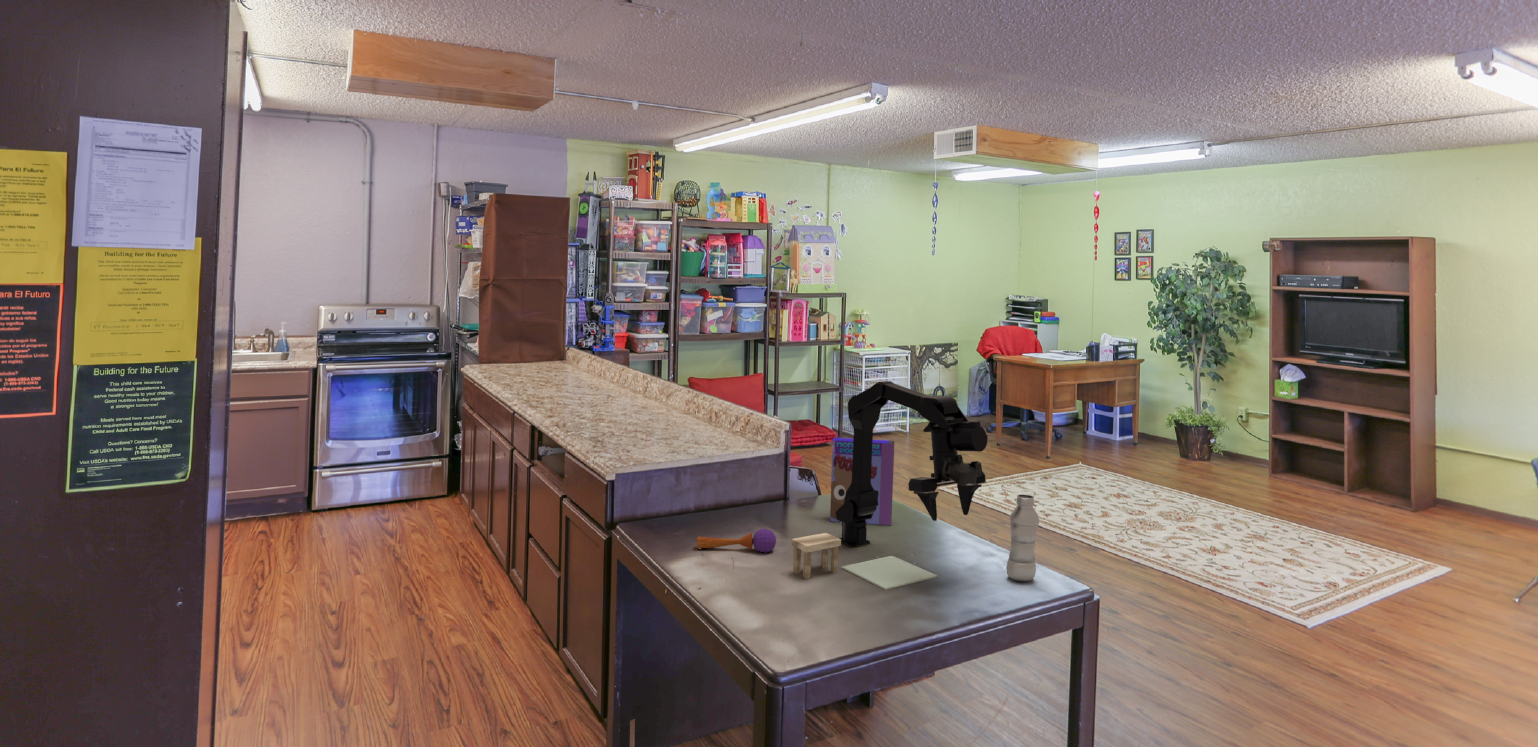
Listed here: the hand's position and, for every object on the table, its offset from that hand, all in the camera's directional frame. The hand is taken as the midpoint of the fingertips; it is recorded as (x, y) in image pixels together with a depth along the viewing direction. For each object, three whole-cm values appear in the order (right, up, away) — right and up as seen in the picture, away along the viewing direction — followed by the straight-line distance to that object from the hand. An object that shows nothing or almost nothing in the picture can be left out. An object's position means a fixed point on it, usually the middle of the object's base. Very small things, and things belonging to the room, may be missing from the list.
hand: (950, 517), depth 187 cm
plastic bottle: (+17, -15, +1) cm, 22 cm away
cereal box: (-16, -9, +45) cm, 49 cm away
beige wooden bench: (-31, -13, +3) cm, 34 cm away
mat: (-14, -14, +4) cm, 20 cm away
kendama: (-51, -12, +18) cm, 55 cm away
